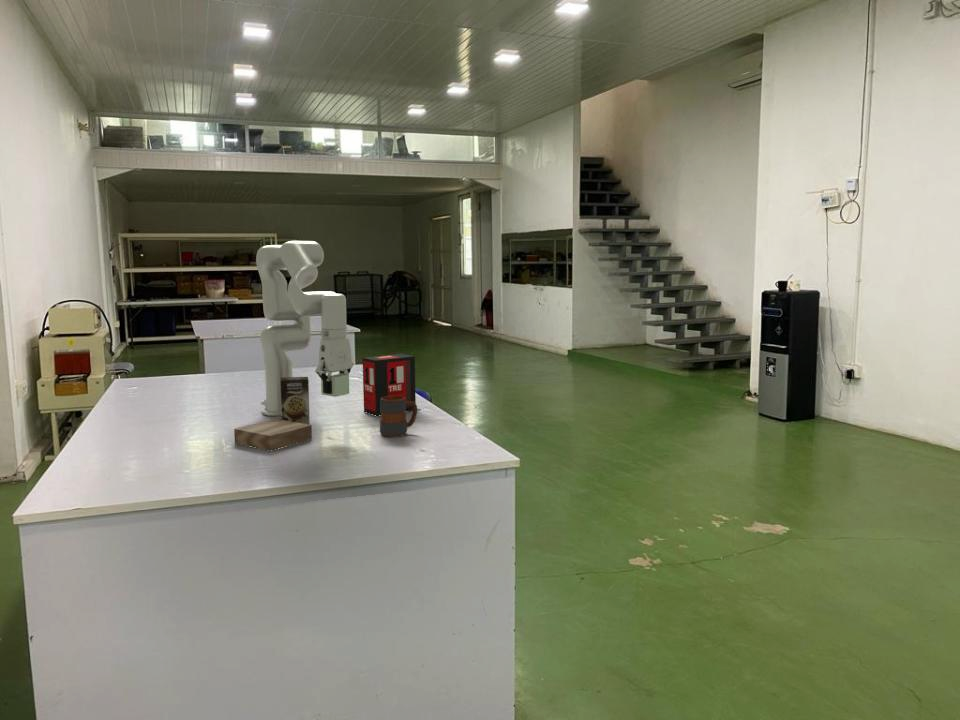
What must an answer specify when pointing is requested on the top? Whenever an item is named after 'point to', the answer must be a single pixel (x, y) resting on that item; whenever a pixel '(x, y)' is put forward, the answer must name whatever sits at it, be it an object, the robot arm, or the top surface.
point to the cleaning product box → (388, 380)
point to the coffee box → (295, 399)
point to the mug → (395, 415)
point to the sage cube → (338, 384)
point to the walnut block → (273, 434)
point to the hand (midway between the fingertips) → (335, 391)
